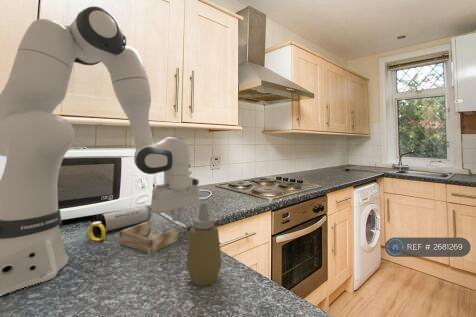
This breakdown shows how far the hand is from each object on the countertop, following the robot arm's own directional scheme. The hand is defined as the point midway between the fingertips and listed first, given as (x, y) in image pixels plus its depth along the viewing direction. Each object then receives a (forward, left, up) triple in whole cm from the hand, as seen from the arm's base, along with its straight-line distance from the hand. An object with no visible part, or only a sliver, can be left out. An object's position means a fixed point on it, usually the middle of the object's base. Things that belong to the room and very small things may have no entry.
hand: (176, 220), depth 84 cm
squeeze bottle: (-19, -27, -4) cm, 33 cm away
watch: (-19, +17, -4) cm, 26 cm away
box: (-11, +1, -4) cm, 12 cm away
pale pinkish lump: (-9, 0, -4) cm, 10 cm away
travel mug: (+2, +18, -1) cm, 18 cm away
